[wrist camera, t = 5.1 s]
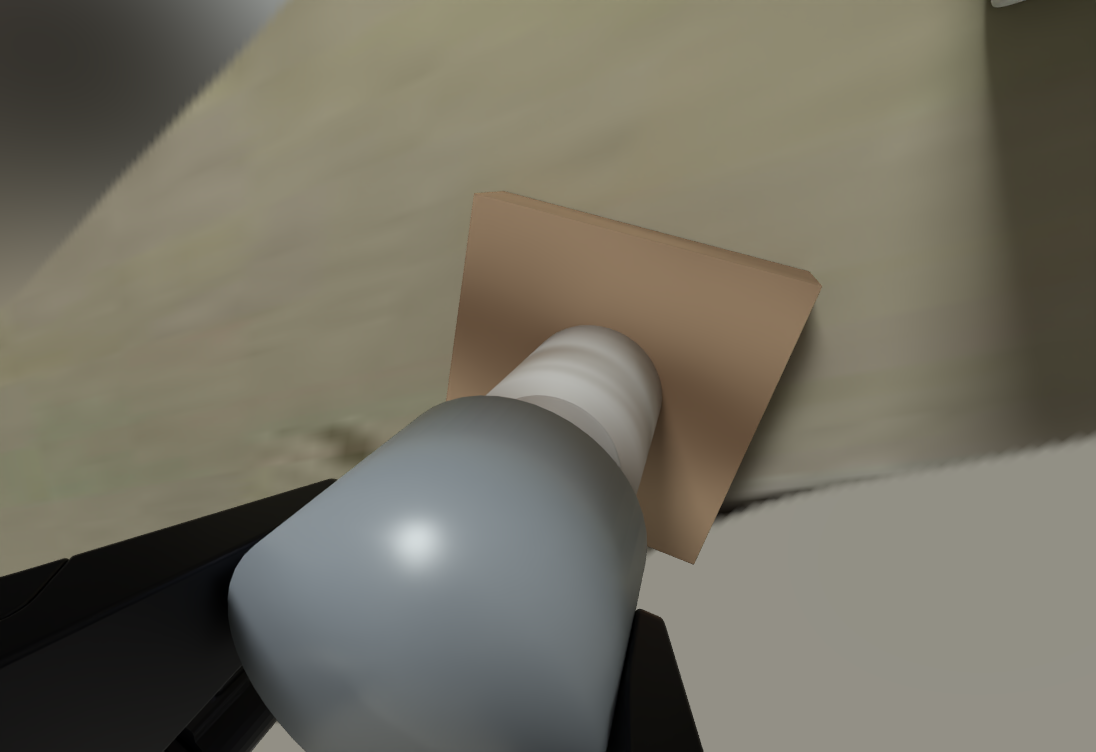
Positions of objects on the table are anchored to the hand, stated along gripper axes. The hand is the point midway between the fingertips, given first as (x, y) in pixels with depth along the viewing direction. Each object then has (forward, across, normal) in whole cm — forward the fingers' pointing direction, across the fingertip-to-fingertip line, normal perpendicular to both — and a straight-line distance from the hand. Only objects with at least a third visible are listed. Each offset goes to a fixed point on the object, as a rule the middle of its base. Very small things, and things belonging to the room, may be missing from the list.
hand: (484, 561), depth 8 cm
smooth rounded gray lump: (+1, 0, 0) cm, 1 cm away
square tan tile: (+9, 0, 0) cm, 9 cm away
